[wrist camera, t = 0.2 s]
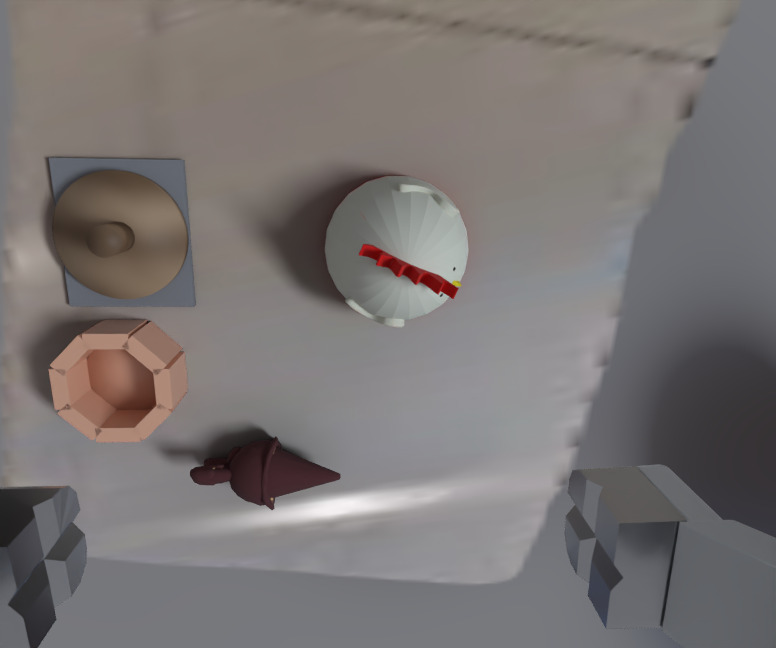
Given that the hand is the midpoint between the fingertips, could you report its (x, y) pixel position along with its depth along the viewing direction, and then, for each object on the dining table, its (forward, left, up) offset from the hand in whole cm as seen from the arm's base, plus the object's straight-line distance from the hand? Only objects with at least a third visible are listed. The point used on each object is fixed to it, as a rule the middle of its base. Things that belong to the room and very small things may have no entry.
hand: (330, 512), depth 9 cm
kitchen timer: (+2, +4, -48) cm, 48 cm away
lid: (+1, -22, -47) cm, 52 cm away
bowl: (+15, -23, -47) cm, 55 cm away
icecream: (+25, -9, -48) cm, 55 cm away
